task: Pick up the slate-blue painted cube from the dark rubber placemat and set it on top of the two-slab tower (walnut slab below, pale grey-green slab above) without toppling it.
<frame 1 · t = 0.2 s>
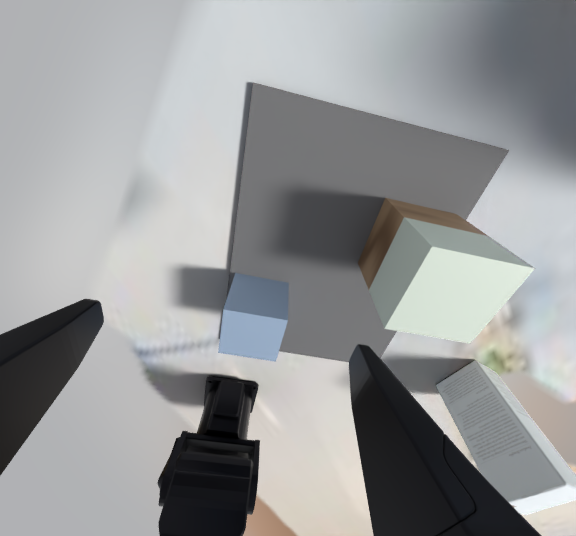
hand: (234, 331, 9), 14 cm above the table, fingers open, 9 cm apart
tower base: (404, 239, 22), resting on placemat, touching tower mid
cube: (258, 298, 26), resting on placemat
skincare box: (464, 376, 33), on the table
tower mid: (424, 264, 19), point 4 cm above the table, touching tower base
placemat: (332, 265, 24), on the table
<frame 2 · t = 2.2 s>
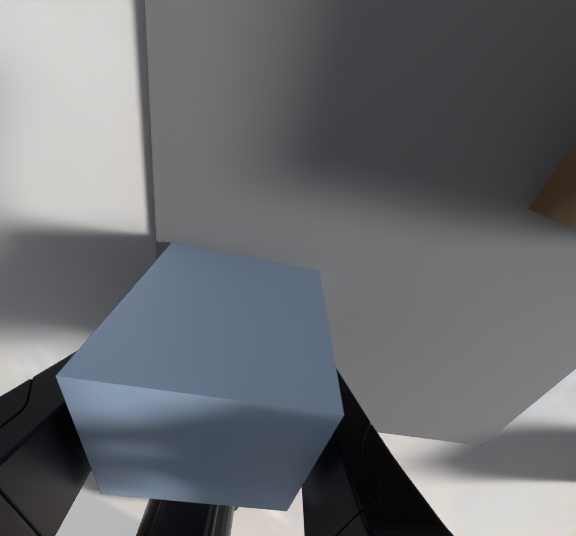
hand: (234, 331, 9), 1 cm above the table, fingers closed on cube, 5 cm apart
cube: (238, 312, 10), resting on placemat, touching gripper
placemat: (443, 220, 9), on the table
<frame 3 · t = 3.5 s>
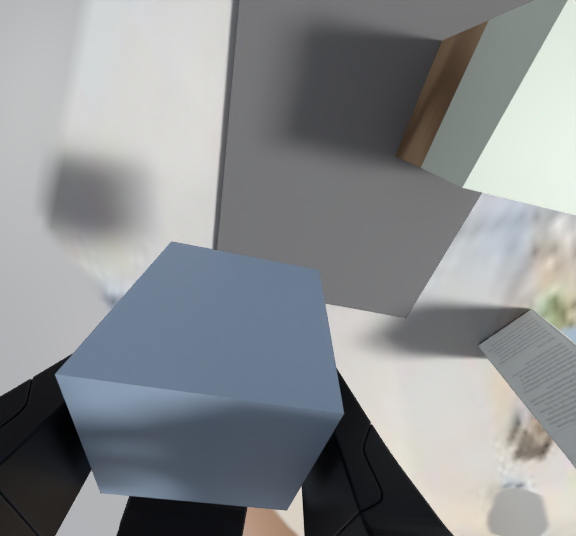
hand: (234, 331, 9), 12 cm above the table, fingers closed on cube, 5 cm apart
tower base: (461, 116, 16), resting on placemat, touching tower mid
cube: (238, 311, 10), point 11 cm above the table, touching gripper
skincare box: (514, 333, 27), on the table
tower mid: (506, 118, 13), point 4 cm above the table, touching tower base
placemat: (359, 163, 18), on the table
when the fingers open (11 cm above the table, at t = 5.1 s): cube drops 1 cm, resting on tower mid.
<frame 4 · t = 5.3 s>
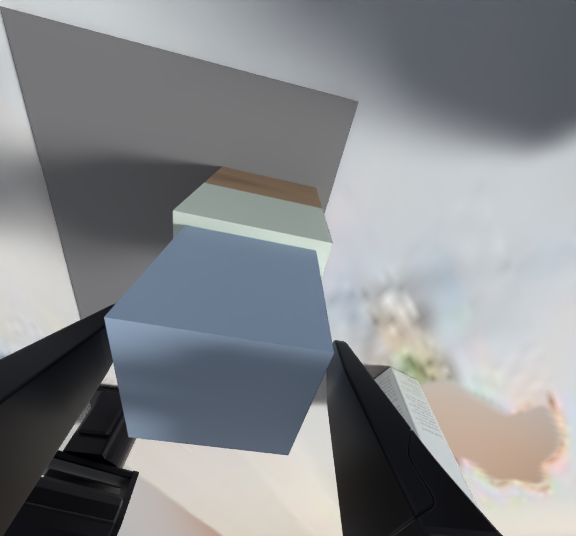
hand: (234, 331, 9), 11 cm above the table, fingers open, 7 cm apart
tower base: (262, 221, 18), resting on placemat, touching tower mid
cube: (244, 289, 11), point 8 cm above the table, touching tower mid
skincare box: (384, 385, 29), on the table
tower mid: (255, 248, 15), point 4 cm above the table, touching cube, tower base
placemat: (189, 254, 20), on the table
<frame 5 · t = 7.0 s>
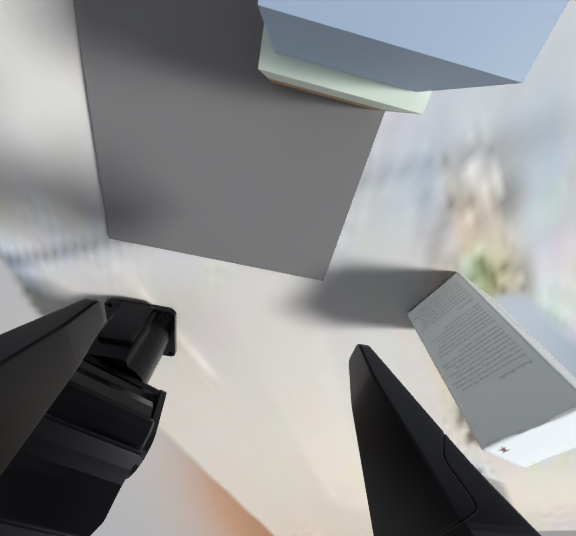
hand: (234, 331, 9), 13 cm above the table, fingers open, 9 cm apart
tower base: (337, 32, 14), resting on placemat, touching tower mid
skincare box: (444, 301, 25), on the table
tower mid: (351, 11, 11), point 4 cm above the table, touching cube, tower base
placemat: (239, 94, 16), on the table
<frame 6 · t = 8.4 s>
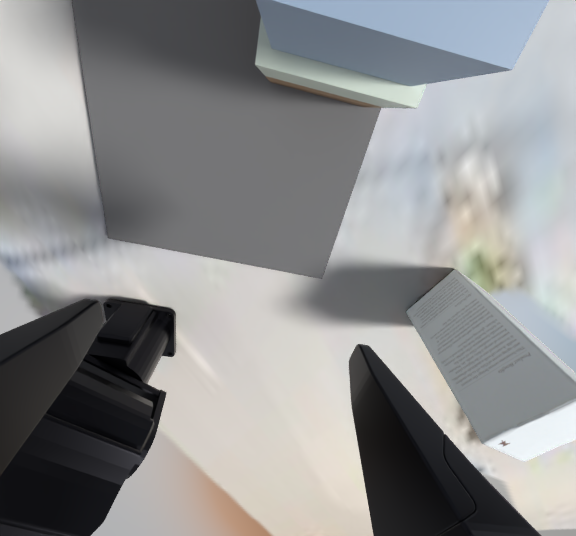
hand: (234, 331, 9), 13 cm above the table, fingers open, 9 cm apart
tower base: (333, 31, 15), resting on placemat, touching tower mid
skincare box: (443, 298, 25), on the table
tower mid: (346, 9, 11), point 4 cm above the table, touching cube, tower base
placemat: (236, 93, 16), on the table
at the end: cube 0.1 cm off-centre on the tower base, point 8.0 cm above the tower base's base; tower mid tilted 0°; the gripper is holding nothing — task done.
